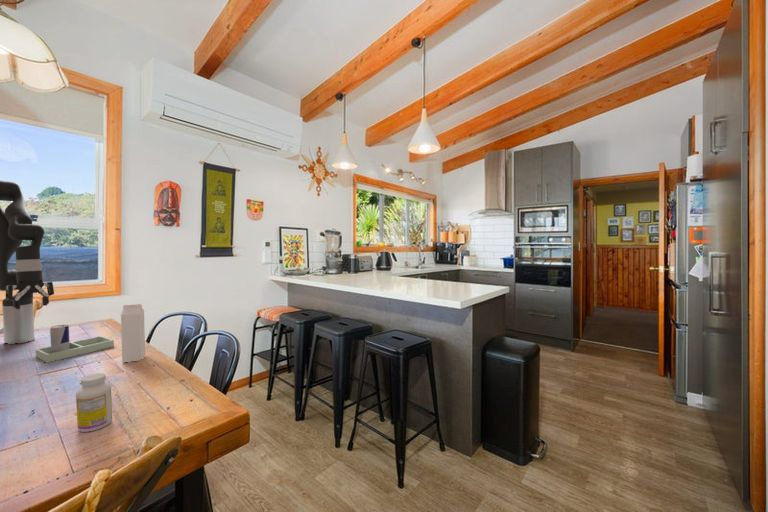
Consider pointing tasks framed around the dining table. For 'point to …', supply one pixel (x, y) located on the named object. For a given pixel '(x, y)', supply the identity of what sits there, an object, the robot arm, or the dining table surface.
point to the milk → (132, 333)
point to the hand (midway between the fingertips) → (31, 307)
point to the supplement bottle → (93, 403)
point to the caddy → (75, 348)
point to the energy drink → (59, 338)
